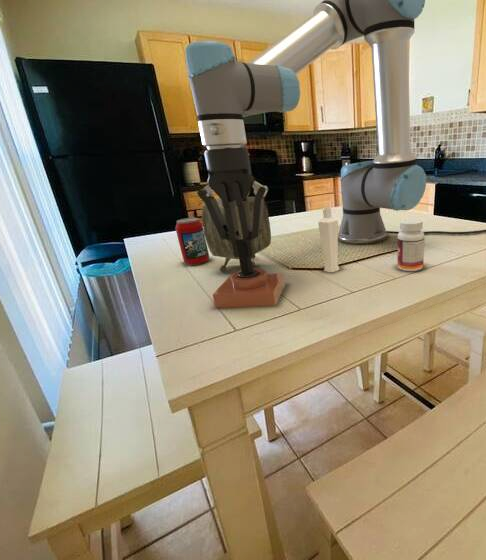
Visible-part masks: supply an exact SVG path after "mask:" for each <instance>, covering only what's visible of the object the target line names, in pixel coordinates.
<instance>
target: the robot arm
mask: <svg viewBox="0 0 486 560" xmlns="http://www.w3.org/2000/svg"><path fill="white" fill-rule="evenodd" d="M425 5H426V0H322V1H321V2H320V3H318V4H317V5H316V6H315V7H314V9H313V12H312V15H311V16H309V17H308V18H307V19H305V20H304V21H303V22H301V23H300V24H299V25H297V26H296V27H294V28H293V29H291V31H289V32H287V34H285V35H284V36H282V37H281V38H279V39H278V40H277V41H275V42H274V43H273V44H272V45H270V46H268V47H267V48H265V50H263V51H262V52H260V53H259V54H258V55H256V56H255V57H254V58H252V59H251V60H249V61H248V62H242V61H239V60H236V56H235V54H234V51H233V48H232V47H231V46H230V44H228V43H224V42H222V41H220V40H211V39H209V40H208V39H207V40H196V41H193V42H190V43H188V45H187V46H185V49H184V55H185V65H186V71H187V79H188V81H189V86H190V91H191V94H192V95H191V96H192V99H193V104H194V108H195V112H196V119H197V123H198V130H199V135H200V139H201V144H202V146H203V147H206V149H205V150H204V153H203V155H204V160H205V164H206V170H207V172H208V178H207V185H205V186H204V187H203V188H201V189H199V190H197V193H196V194H197V196H198V197H199V198H200V199H201V201H202V202H203V203H204V204H206V207H207V209H208V211H209V213H210V215H211V218H212V220H213V222H214V224H215V227H216V229H217V231H218V233H219V235H220V238H221V239H223V240H224V239H226V240H229V241H231V243H232V248H233V253H234V256H235V257H239V259H238V260H239V265H240V266H239V267H240V271H241V272H242V274H250V272H251V271H252V270H253V268H254V267H253V266H252V262H253V259H251V257H252V256H253V255H254V253H255V250H254V244H253V239H254V238H257V237H258V236H259V235H260V234H261V230H262V219H263V208H264V202H265V198H266V196H267V194H268V191H269V187H268V185H263V184H261V183H260V182H258V181H256V177H255V176H254V175H253V173H252V167H251V159H250V153H249V150H248V149H247V148H246V147H245V145H247V144H248V140H247V135H246V129H245V128H246V127H245V123H244V118H246V117H250V116H254V115H255V116H256V115H261V114H266V113H273V112H275V113H276V112H277V113H284V112H285V113H286V112H292V111H295V109H296V108H297V107H298V105H299V103H300V99H301V87H300V80H299V78H298V75H299V74H301V72H303V71H304V70H305V69H307V68H308V67H309V66H310V65H311V64H313V63H314V62H315V61H317V60H318V59H319V58H321V57H322V56H323V55H324V54H325V53H327V52H329V50H338V49H339V48H341V47H342V46H343V45H344V44H346V43H348V42H350V41H353V40H356V39H358V38H364V41H365V43H367V44H368V45H369V46H370V49H371V61H372V78H373V94H374V96H373V97H374V110H375V127H376V144H377V155H376V156H375V158H374V159H373V160H366V161H360V162H355V163H349V164H345V165H343V166H342V167H341V169H340V179H339V180H340V189H341V190H340V191H341V204H342V219H341V222H340V226H339V229H338V241H340V242H342V243H345V244H350V245H369V244H374V243H379V242H382V241H384V240H385V239H386V238H387V234H391V235H393V234H394V235H398V233H399V232H400V231H393V230H387V229H386V227H385V224H384V220H383V218H382V215H381V209H387V210H393V211H397V212H398V211H410V210H412V209H414V208H416V206H418V205H419V203H420V202H421V200H422V198H423V197H424V194H425V192H426V187H427V174H426V172H425V169H423V167H421V166H420V165H418V160H417V159H418V157H417V156H416V154H414V152H412V150H411V149H412V148H411V110H410V109H411V107H410V105H411V103H410V67H409V63H410V61H409V41H410V39H411V38H412V37H413V35H414V34H415V33H416V31H415V29H416V28H415V20H416V19H417V18H419V16H420V15H421V14H422V13H423V10H424V7H425ZM252 190H253V194H254V195H255V196H254V197H255V201H254V213H253V226H252V227H251V221H250V215H249V209H248V198H247V197H249V196H250V193H251V191H252ZM215 194H216V195H217V196H218V197H219V198H221V200H222V205H223V207H224V211H225V216H226V221H227V224H226V222H225V219H224V217H223V215H222V212H221V210H220V208H219V205H218V203H217V201H216V199H217V198H216V197H215ZM235 201H236V206H237V207H238V213H239V218H240V224H241V229H242V235H243V239H240V237H241V235H240V233H239V227H238V222H237V216H236V210H235ZM422 232H423V233H424V235H429V234H437V235H439V234H440V235H441V234H442V235H471V234H480V233H482V234H483V233H486V229H479V230H470V231H445V230H444V231H442V230H441V231H440V230H432V231H431V230H430V231H429V230H428V231H422Z"/></svg>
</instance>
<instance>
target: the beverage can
mask: <svg viewBox="0 0 486 560" xmlns="http://www.w3.org/2000/svg"><path fill="white" fill-rule="evenodd" d="M175 232H176V236H177V240H178V244H179V248H180V252H181V256H182V259H183V262H184V263H185V264H188V265H189V266H190V265H191V266H195V265H196V266H197V265H201V264H204V263H206V262H207V261H208V260H209V259H210V254H209V247H208V245H207V241H206V238H205V235H204V230H203V223H202V221H200V220H199V217H187V218H181V219H178V220H176V224H175Z"/></svg>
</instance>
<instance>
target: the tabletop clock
mask: <svg viewBox="0 0 486 560" xmlns="http://www.w3.org/2000/svg"><path fill="white" fill-rule="evenodd" d="M247 198H248V209H249V215H250V221H251V227H252V226H253V213H254V201H255V196H248V197H247ZM215 199H216V201H217V203H218V205H219V208H220V210H221V212H222V215H223V217H224V219H225V222H226V224H227V221H226V216H225V211H224V207H223V205H222V200H221V198H220V197H219V198H215ZM235 210H236V216H237V222H238V227H239V233H240V235H241V237H240V239H243V235H242V229H241V224H240V218H239V213H238V207H237V206H236V201H235ZM201 223H202V226H203V230H204V235H205V239H206V244H207V248H208V251H209V252H210V253H211V255H212V257H219V258H225V260H224V263H223V265H221V266H220V267H219V271H220V272H221V273H224V272H227V270H228V269H227V265H228V263H229V262H230V260H231V259H233V260H239V257H235V256H234V253H233V248H232V243H231V241H229V240H226V239H224V240H223V239H221V238H220V235H219V233H218V231H217V229H216V227H215V224H214V222H213V220H212V218H211V215H210V213H209V211H208V209H207V207H206V204H205V203H204V204H203V205H202V206H201ZM271 243H272V232H271V223H270V218H269V212H268V208H267V205H266V202H265V201H264V208H263V219H262V230H261V234H260V235H259V236H258V237H257V238H254V239H253V244H254V250H255V253H254V255H253V256H252V257H251V260H255V258H257V257H256V254H258V253H260V252H262V251H263V250H265V249H267V248H268V247H269V246H270V245H271ZM252 266H253V268H256V263H255V261H252Z"/></svg>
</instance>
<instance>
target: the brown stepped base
mask: <svg viewBox="0 0 486 560" xmlns="http://www.w3.org/2000/svg"><path fill="white" fill-rule="evenodd" d="M253 269H255V270H258V273H259V275H257V276H255V277H252V278H239V276H238V274H239V273H240V272H241V270H238V271H236V272H233V273H232V274H231V275H229V276H228V277H227V278H226V279H225V280H224V281H223V282H222V283H221V285H220V286H219V287H218V288H217V289H215V291H214V292H213V293H212V298H213V303H214V307H215V309H225V308H226V309H228V308H252V307H253V308H254V307H255V308H256V307H275V306H276V305H277V303H278V301H279V299H280V297H281V295H282V293H283V291H284V289H285V287H286V281H285V280H286V279H285V274H284V273H283V272H282V273H280V272H279V273H267V271H266V270H265V269H264V268H258V267H253Z"/></svg>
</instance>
